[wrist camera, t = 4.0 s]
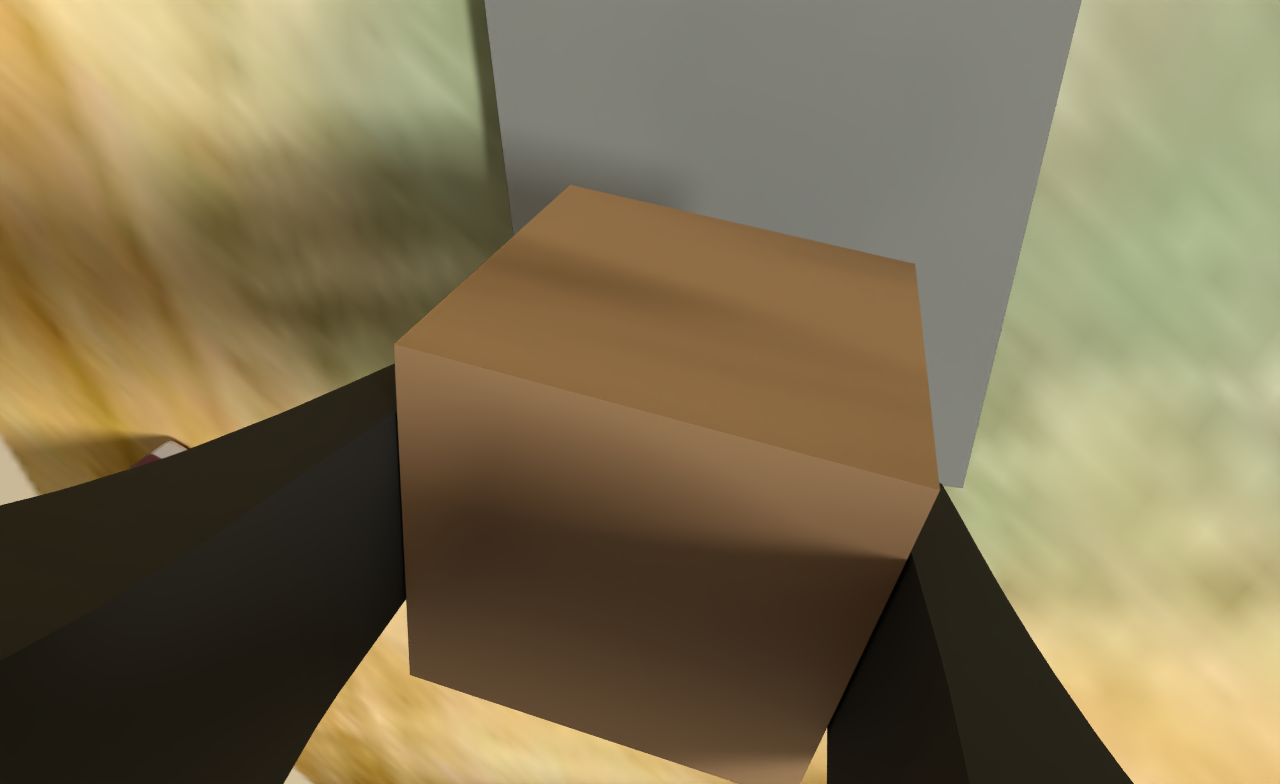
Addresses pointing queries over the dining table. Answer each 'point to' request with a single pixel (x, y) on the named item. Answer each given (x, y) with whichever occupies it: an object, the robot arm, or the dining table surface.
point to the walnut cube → (663, 478)
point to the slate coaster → (806, 137)
